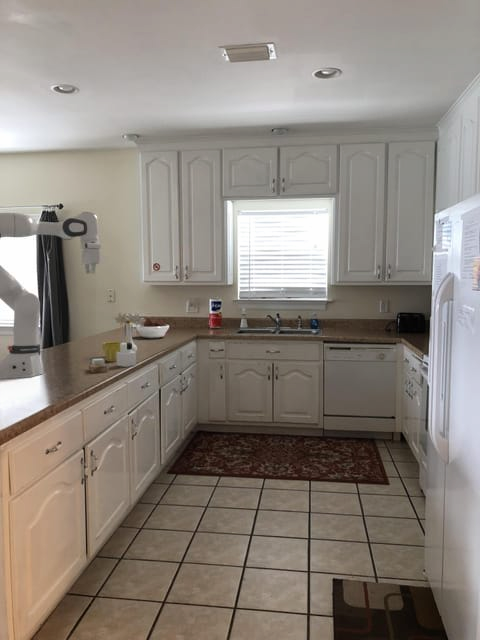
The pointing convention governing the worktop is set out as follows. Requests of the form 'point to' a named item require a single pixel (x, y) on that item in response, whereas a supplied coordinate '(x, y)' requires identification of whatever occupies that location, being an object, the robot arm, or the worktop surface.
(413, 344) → the worktop surface
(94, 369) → the block
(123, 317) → the flower vase
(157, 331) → the white bowl
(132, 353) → the medicine bottle
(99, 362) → the cube
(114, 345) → the plant pot
